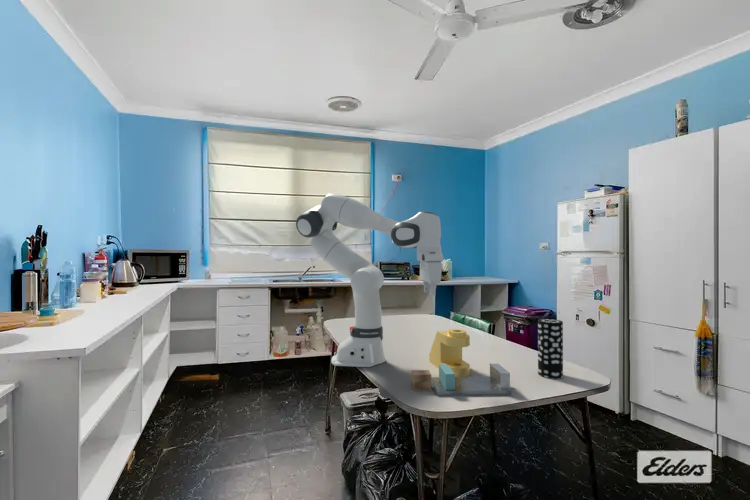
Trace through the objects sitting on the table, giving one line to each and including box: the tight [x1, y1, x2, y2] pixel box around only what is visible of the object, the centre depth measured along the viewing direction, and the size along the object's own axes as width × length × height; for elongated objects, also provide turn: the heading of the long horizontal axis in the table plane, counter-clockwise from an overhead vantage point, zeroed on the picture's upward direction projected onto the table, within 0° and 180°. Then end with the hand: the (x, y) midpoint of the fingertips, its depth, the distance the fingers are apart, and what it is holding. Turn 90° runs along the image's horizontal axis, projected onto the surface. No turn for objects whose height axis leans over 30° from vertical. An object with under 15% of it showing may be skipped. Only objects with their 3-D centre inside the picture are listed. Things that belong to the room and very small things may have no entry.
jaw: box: [438, 364, 455, 390], centre depth 124 cm, size 3×10×5 cm, turn 2°
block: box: [410, 369, 432, 392], centre depth 124 cm, size 6×4×6 cm
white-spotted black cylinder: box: [537, 318, 564, 380], centre depth 137 cm, size 8×8×20 cm
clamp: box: [428, 328, 471, 377], centre depth 145 cm, size 20×9×16 cm, turn 15°
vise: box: [431, 363, 513, 397], centre depth 125 cm, size 24×13×6 cm, turn 92°
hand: (429, 294), depth 135 cm, fingers open, 8 cm apart
